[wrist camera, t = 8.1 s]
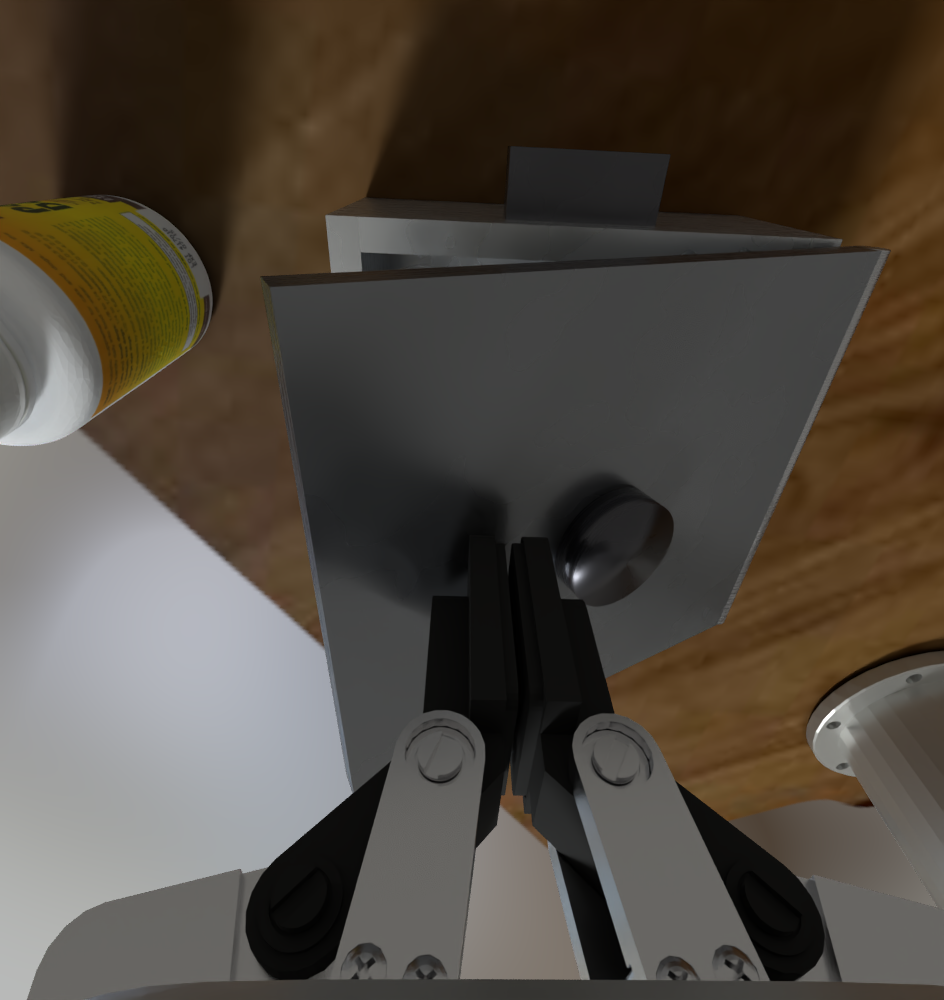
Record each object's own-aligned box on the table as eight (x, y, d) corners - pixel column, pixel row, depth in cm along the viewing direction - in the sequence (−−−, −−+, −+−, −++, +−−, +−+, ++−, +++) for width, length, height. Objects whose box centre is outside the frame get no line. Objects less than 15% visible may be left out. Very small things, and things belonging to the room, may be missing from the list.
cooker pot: (755, 160, 17) (872, 164, 12) (644, 542, 26) (685, 634, 21) (361, 140, 17) (317, 135, 12) (386, 535, 26) (367, 626, 21)
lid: (864, 245, 13) (932, 255, 12) (712, 606, 20) (746, 633, 19) (259, 275, 7) (283, 301, 6) (346, 773, 14) (364, 827, 13)
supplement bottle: (142, 160, 17) (-178, 169, 9) (249, 317, 20) (87, 440, 11) (21, 238, 18) (-362, 313, 10) (138, 375, 21) (-81, 525, 13)
